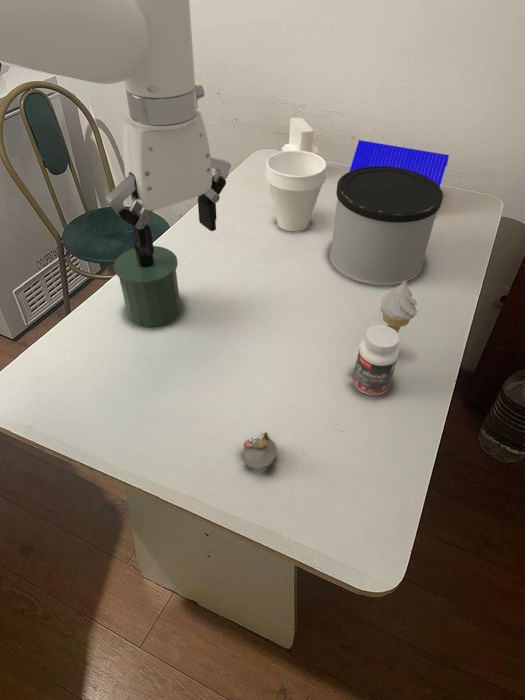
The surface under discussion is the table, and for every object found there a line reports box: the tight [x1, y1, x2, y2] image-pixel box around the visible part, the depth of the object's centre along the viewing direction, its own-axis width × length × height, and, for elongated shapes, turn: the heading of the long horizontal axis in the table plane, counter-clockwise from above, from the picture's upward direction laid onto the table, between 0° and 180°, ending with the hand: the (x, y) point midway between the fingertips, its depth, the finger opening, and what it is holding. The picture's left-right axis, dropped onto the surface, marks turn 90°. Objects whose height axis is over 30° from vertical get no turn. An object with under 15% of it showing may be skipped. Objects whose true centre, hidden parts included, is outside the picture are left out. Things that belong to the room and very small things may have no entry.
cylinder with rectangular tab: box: [281, 116, 319, 155], centre depth 126 cm, size 9×9×12 cm
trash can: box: [119, 269, 181, 328], centre depth 88 cm, size 9×9×10 cm
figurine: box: [242, 431, 278, 472], centre depth 67 cm, size 5×4×6 cm
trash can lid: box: [113, 233, 179, 284], centre depth 82 cm, size 10×10×7 cm
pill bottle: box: [352, 324, 400, 396], centre depth 76 cm, size 6×6×10 cm
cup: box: [265, 150, 328, 232], centre depth 108 cm, size 12×12×14 cm
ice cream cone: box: [380, 280, 419, 334], centre depth 78 cm, size 6×6×15 cm
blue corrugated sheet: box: [348, 139, 450, 188], centre depth 118 cm, size 12×20×12 cm, turn 68°
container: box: [329, 166, 444, 287], centre depth 98 cm, size 19×19×15 cm
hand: (177, 238), depth 69 cm, fingers open, 9 cm apart
